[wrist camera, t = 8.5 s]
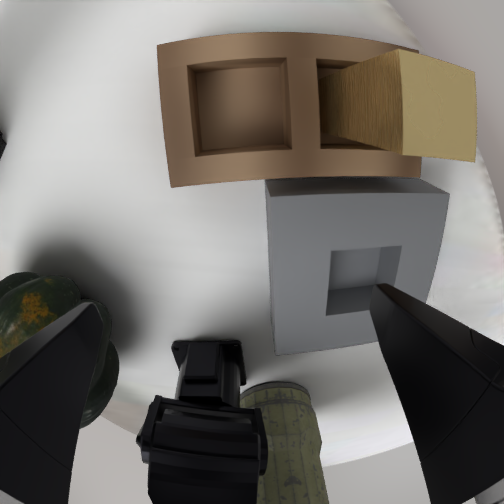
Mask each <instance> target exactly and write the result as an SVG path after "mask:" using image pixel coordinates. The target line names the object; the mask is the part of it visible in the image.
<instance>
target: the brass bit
mask: <svg viewBox="0 0 504 504" xmlns="http://www.w3.org/2000/svg"><path fill="white" fill-rule="evenodd" d="M318 97H319V118H320V132H322V133H326V134H330V135H335V136H339V137H343V138H347V139H350V140H354V141H358V142H361V143H365V144H369V145H372V146H375V147H379V148H382V149H385V150H388V151H392V152H395V153H398V154H401V155H409V156H422V157H433V158H443V159H452V160H460V161H468V162H475V156H476V136H477V134H476V133H477V106H476V105H477V104H476V103H477V102H476V85H475V73H474V72H473V71H470V70H468V69H465V68H462V67H460V66H457V65H454V64H451V63H448V62H445V61H442V60H439V59H435V58H432V57H429V56H425V55H421V54H418V53H414V52H410V51H406V50H401V49H397V50H394V51H391V52H388V53H385V54H382V55H379V56H376V57H373V58H370V59H368V60H365V61H362V62H360V63H357V64H355V65H352V66H349V67H347V68H344V69H342V70H340V71H337V72H335V73H332V74H330V75H328V76H326V77H323V78H321V79H319V80H318Z"/></svg>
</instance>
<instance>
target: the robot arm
mask: <svg viewBox="0 0 504 504" xmlns="http://www.w3.org/2000/svg"><path fill="white" fill-rule="evenodd" d="M369 311H370V315H371V318H372V321H373V325H374V328H375V331H376V335H377V338H378V342H379V345H380V349H381V352H382V354H383V357H384V359H385V362H386V364H387V367H388V370H389V372H390V375H391V377H392V380H393V382H394V385H395V388H396V390H397V393H398V396H399V399H400V401H401V404H402V407H403V410H404V413H405V416H406V419H407V421H408V424H409V427H410V431H411V434H412V437H413V440H414V443H415V446H416V450H417V453H418V456H419V459H420V462H421V467H422V471H423V474H424V478H425V481H426V485H427V489H428V493H429V498H430V502H431V504H462V503H464V502H466V501H468V500H469V499H471V498H473V497H474V498H475V501H476V503H477V504H504V346H503V345H501V344H499V343H497V342H495V341H493V340H491V339H489V338H488V337H486V336H484V335H482V334H480V333H478V332H477V331H475V330H473V329H471V328H470V329H469V327H468V326H466V325H464V324H462V323H461V322H459V321H457V320H455V319H453V318H451V317H450V316H448V315H446V314H444V313H442V312H440V311H439V310H437V309H435V308H433V307H431V306H429V305H427V304H426V303H424V302H422V301H420V300H418V299H416V298H414V297H412V296H411V295H409V294H407V293H405V292H403V291H401V290H399V289H397V288H395V287H393V286H391V285H389V284H388V283H380V284H375V285H374V286H373V289H372V295H371V300H370V305H369ZM103 328H104V325H103V321H102V318H101V316H100V314H99V311H98V309H97V307H96V305H95V304H94V303H82V304H80V305H79V306H77V307H76V308H74V309H73V310H71V311H69V312H68V313H66V314H65V315H63V316H62V317H60V318H59V319H57V320H56V321H54V322H52V323H51V324H49V325H48V326H46V327H45V328H43V329H42V330H40V331H39V332H37V333H36V334H34V335H33V336H32V337H30V338H29V339H27V340H26V341H24V342H23V343H21V344H20V345H18V346H17V347H15V348H14V349H13V350H11V351H10V352H8V353H7V354H5V355H4V356H3V357H1V358H0V504H68V498H69V490H70V482H71V475H72V472H71V471H72V467H73V461H74V455H75V449H76V444H77V439H78V434H79V429H80V425H81V420H82V416H83V412H84V408H85V404H86V400H87V396H88V392H89V388H90V384H91V381H92V377H93V374H94V370H95V366H96V362H97V357H98V352H99V347H100V342H101V338H102V333H103ZM234 345H237V346H234ZM176 347H178V348H176ZM171 349H172V352H173V355H174V358H175V360H176V363H177V366H178V369H179V371H180V372H179V377H178V383H177V388H176V394H175V399H170V398H164V397H162V396H159V395H156V396H155V398H154V401H153V402H151V404H150V405H149V409H148V414H147V417H146V419H145V422H144V424H143V426H142V428H141V430H140V432H139V433H138V435H137V438H136V443H137V444H138V445H139V447H140V448H141V455H142V461H143V463H146V464H149V468H148V495H149V497H150V499H151V501H152V503H153V504H257V491H258V481H259V476H263V475H264V474H265V472H266V469H267V463H268V442H267V436H266V432H265V427H264V422H263V417H262V412H261V408H256V407H254V408H241V407H240V386H244V385H246V373H245V366H244V359H243V351H242V344H241V342H240V341H238V340H230V341H206V342H174V343H173V344H172V346H171Z"/></svg>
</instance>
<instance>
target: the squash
mask: <svg viewBox="0 0 504 504" xmlns="http://www.w3.org/2000/svg"><path fill="white" fill-rule="evenodd" d="M82 303H94V304H95V305H96V307H97V309H98V311H99V314H100V316H101V318H102V321H103V325H104V328H103V333H102V338H101V342H100V347H99V352H98V357H97V362H96V366H95V370H94V374H93V377H92V381H91V384H90V388H89V392H88V396H87V400H86V404H85V408H84V412H83V416H82V420H81V425H80V429H81V428H83V427H85V426H87V425H89V424H90V423H92V422H93V421H94V420H95V419H96V418H97V417H98V416H99V415H100V414H101V413H102V411H103V410H104V409H105V407H106V406H107V404H108V402H109V401H110V399H111V397H112V395H113V392H114V389H115V387H116V385H117V380H118V374H119V358H118V353H117V351H116V349H115V347H114V345H113V344H112V342H111V341H110V340H109V338H110V333H111V318H110V315H109V312H108V310H107V308H106V307H105V306H104V305H103V304H101V303H100V302H97V301H95V300H91V299H83V300H81V296H80V292H79V289H78V287H77V286H76V284H75V283H74V282H73V281H72V280H71V279H69V278H65V277H63V276H46V277H41V276H40V275H38V274H35V273H31V272H21V273H15V274H12V275H9V276H7V277H6V278H4V279H3V280H1V281H0V358H1V357H3V356H4V355H5V354H7V353H8V352H10V351H11V350H13V349H14V348H15V347H17V346H18V345H20V344H21V343H23V342H24V341H26V340H27V339H29V338H30V337H32V336H33V335H34V334H36V333H37V332H39V331H40V330H42V329H43V328H45V327H46V326H48V325H49V324H51V323H52V322H54V321H56V320H57V319H59V318H60V317H62V316H63V315H65V314H66V313H68V312H69V311H71V310H73V309H74V308H76V307H77V306H79V305H80V304H82Z"/></svg>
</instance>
